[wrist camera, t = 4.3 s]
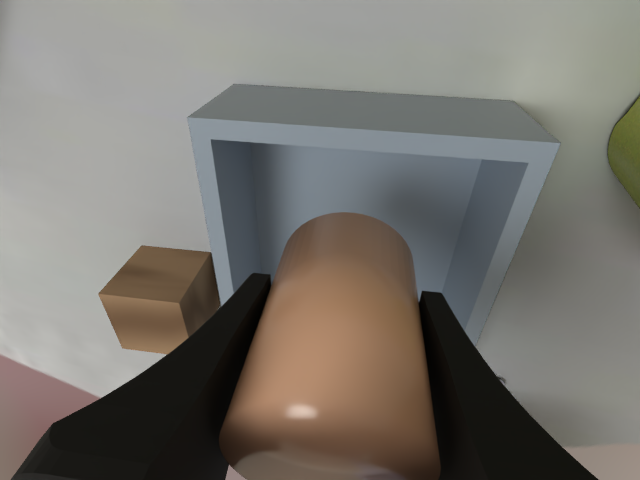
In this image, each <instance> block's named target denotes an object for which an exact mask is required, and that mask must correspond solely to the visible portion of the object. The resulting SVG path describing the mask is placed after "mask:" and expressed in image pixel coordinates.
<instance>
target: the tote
mask: <svg viewBox="0 0 640 480" xmlns="http://www.w3.org/2000/svg"><path fill="white" fill-rule="evenodd" d="M187 119H188V124H189V130H190V135H191V141H192V146H193V152H194V158H195V163H196V169H197V174H198V180H199V185H200V191H201V196H202V202H203V207H204V213H205V218H206V224H207V230H208V235H209V241H210V246H211V252H212V257H213V263H214V268H215V274H216V279H217V285H218V291H219V296H220V302H221V306H222V305H223V304H224V303H225V302H226V301H227V300H228V299H229V298H230V297H231V296H232V295H233V294H234V293H235V292H236V290H237V289H238V288H239V287H240V286H241V285H242V284H243V283H244V281H245V280H246V279H247V278H248V277H249V276H250V275H251V274H252V273H261V274H270V275H271V285H272V282H273V279H274V276H275V274H276V271H277V268H278V265H279V262H280V259H281V256H282V253H283V251H284V248H285V245H286V243H287V241H288V239H289V238H290V236H291V235H292V234H293V233H294V232H295V230H296V229H298V228H299V227H300V226H301V225H303V224H304V223H306V222H307V221H309V220H311V219H313V218H316V217H318V216H322V215H325V214H330V213H338V212H351V213H359V214H364V215H367V216H371V217H374V218H376V219H378V220H381V221H383V222H384V223H386V224H388V225H389V226H391V227H392V228H393V229H395V230H396V231H397V232H398V233H399V234H400V235H401V236H402V237H403V239H404V240H405V241H406V243H407V244H408V246H409V248H410V250H411V253H412V256H413V262H414V269H415V277H416V284H417V292H418V299H419V301H420V297H421V293H422V291H431V292H441V293H442V294H443V295H444V297H445V299H446V301H447V303H448V304H449V306H450V308H451V310H452V311H453V313H454V315H455V316H456V318H457V320H458V321H459V323H460V325H461V326H462V328H463V329H464V331H465V333H466V334H467V336H468V337H469V339H470V340H471V342H472V343H473V344H474V346H476V343H477V341H478V339H479V336H480V334H481V332H482V329H483V327H484V324H485V322H486V320H487V317H488V315H489V313H490V310H491V308H492V305H493V303H494V301H495V298H496V296H497V294H498V291H499V289H500V286H501V284H502V282H503V279H504V277H505V275H506V272H507V270H508V267H509V265H510V263H511V260H512V258H513V256H514V253H515V251H516V248H517V246H518V244H519V241H520V239H521V237H522V234H523V232H524V229H525V227H526V225H527V222H528V220H529V218H530V215H531V213H532V210H533V208H534V206H535V203H536V201H537V199H538V196H539V194H540V191H541V189H542V187H543V184H544V182H545V180H546V177H547V175H548V172H549V170H550V168H551V165H552V163H553V161H554V158H555V156H556V153H557V151H558V149H559V146H560V144H561V143H560V142H559V141H558V140H557V139H556V138H554V137H553V136H552V135H551V134H550V133H549V132H548V131H546V130H545V129H544V128H543V127H542V126H541V125H540V124H538V123H537V122H536V121H535V120H534V119H533V118H532V117H531V116H529V115H528V114H527V113H526V112H525V111H524V110H523V109H521V108H520V107H519V106H518V105H517V104H516V103H515V102H513V101H506V100H490V99H473V98H456V97H440V96H423V95H406V94H390V93H373V92H357V91H340V90H323V89H307V88H290V87H273V86H257V85H240V84H233V85H232V86H230V87H229V88H228V89H226V90H225V91H223V92H222V93H221V94H219V95H218V96H216V97H215V98H214V99H212V100H211V101H209V102H208V103H207V104H205V105H204V106H202V107H201V108H200V109H198V110H197V111H195V112H194V113H193V114H191V115H190V116H188V117H187Z"/></svg>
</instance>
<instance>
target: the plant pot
mask: <svg viewBox="0 0 640 480" xmlns="http://www.w3.org/2000/svg"><path fill="white" fill-rule="evenodd" d="M608 159H609V164H610V166H611V169H612V170H613V172H614V174H615V175H616V177H617V178H618V180H619V181H620V182H621V184H622V185H623V186H624V188H625V189H626V190H627V192H628V193H629V194H630V196H631V197H632V199H633V200H634V201H635V203H636V204H637V205H638V207H639V208H640V96H639V98H638V99H637V101H636V102H635V104H634V105H633V106H632V107H631V108H630V110H629V111H628V112H627V114H626V115H625V116H624V117H623V118H622V119H621V120H620V121H619V122H618V123H617V124H616V125H615V127H614V129H613V132H612V134H611V137H610V141H609V146H608Z"/></svg>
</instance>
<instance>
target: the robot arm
mask: <svg viewBox="0 0 640 480" xmlns="http://www.w3.org/2000/svg"><path fill="white" fill-rule="evenodd" d="M270 288H271V275H270V274H261V273H252V274H251V275H250V276H249V277H248V278H247V279H246V280H245V281H244V283H243V284H242V285H241V286H240V287H239V288H238V289H237V290H236V292H235V293H234V294H233V295H232V296H231V297H230V298H229V299H228V300H227V301H226V302H225V303H224V304H223V305H222V306H221V307H220V308H219V309H218V310H217V311H216V312H215V313H214V314H213V315H212V316H211V317H210V318H209V319H208V320H207V321H206V322H205V323H204V324H203V325H202V326H201V327H200V328H199V329H197V330H196V331H195V332H194V333H193V334H192V335H191V336H190V337H188V338H187V339H186V340H185V341H184V342H183V343H181V344H180V345H179V346H178V347H176V348H175V349H174V350H173V351H171V352H170V353H169V354H168V355H166V356H165V357H163V358H162V359H161V360H159V361H158V362H157V363H155V364H154V365H152V366H151V367H150V368H148V369H147V370H145V371H144V372H142V373H141V374H140V375H138V376H137V377H135V378H133V379H132V380H130V381H129V382H127V383H125V384H124V385H122V386H120V387H119V388H117V389H116V390H114V391H112V392H111V393H109V394H107V395H106V396H104V397H102V398H101V399H99V400H97V401H95V402H93V403H92V404H90V405H88V406H86V407H84V408H82V409H80V410H78V411H76V412H74V413H72V414H71V415H69V416H67V417H65V418H63V419H61V420H59V421H57V422H55V423H53V424H52V425H51V427H50V428H49V429H48V430H47V431H46V433H45V434H44V435H43V436H42V437H41V439H40V440H39V441H38V443H37V444H36V446H35V447H34V448H33V450H32V451H31V453H30V454H29V455H28V457H27V458H26V459H25V461H24V462H23V464H22V465H21V466H20V468H19V469H18V471H17V472H16V473H15V475H14V476H13V477H12V479H11V480H225V478H226V474H227V470H228V466H229V463H228V462H227V461H226V460H225V458H224V456H223V454H222V452H221V449H220V446H219V435H220V431H221V428H222V425H223V422H224V419H225V417H226V414H227V411H228V408H229V405H230V402H231V399H232V397H233V394H234V391H235V388H236V385H237V382H238V379H239V377H240V374H241V371H242V368H243V365H244V362H245V359H246V357H247V354H248V351H249V348H250V345H251V342H252V339H253V336H254V334H255V331H256V328H257V325H258V322H259V319H260V316H261V314H262V311H263V308H264V305H265V302H266V299H267V296H268V294H269V291H270ZM419 307H420V314H421V322H422V329H423V337H424V344H425V352H426V359H427V367H428V375H429V382H430V390H431V397H432V405H433V412H434V420H435V427H436V435H437V442H438V450H439V457H440V465H441V471H440V476H439V479H438V480H598V479H597V478H596V477H595V476H594V475H592V474H591V473H590V472H589V471H588V470H587V469H586V468H584V467H583V466H582V465H581V464H580V463H579V462H578V461H576V459H574V458H573V457H572V456H571V455H570V454H569V453H568V452H567V451H566V450H565V449H564V448H562V447H561V446H560V445H559V444H558V443H557V442H556V441H555V440H554V439H553V438H552V437H551V436H550V435H549V434H548V433H547V432H546V431H545V430H544V429H543V428H542V427H541V426H540V425H539V424H538V423H537V422H536V421H535V420H534V419H533V418H532V417H531V416H530V415H529V413H528V412H527V411H526V410H525V409H524V408H523V407H522V406H521V405H520V404H519V402H518V401H517V400H516V399H515V398H514V397H513V396H512V394H511V393H510V392H509V391H508V390H507V389H506V387H505V384H504V381H502V380H500V379H498V377H497V376H496V375H495V374H494V372H493V371H492V370H491V368H490V367H489V366H488V364H487V363H486V362H485V360H484V359H483V357H482V356H481V355H480V353H479V352H478V350H477V349H476V347H475V346H474V344H473V343H472V342H471V340H470V339H469V337H468V336H467V334H466V333H465V331H464V329H463V328H462V326H461V325H460V323H459V321H458V320H457V318H456V316H455V315H454V313H453V311H452V310H451V308H450V306H449V304H448V303H447V301H446V299H445V297H444V295H443V294H442V293H441V292H431V291H422V293H421V297H420V301H419Z"/></svg>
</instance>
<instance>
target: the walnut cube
mask: <svg viewBox="0 0 640 480" xmlns="http://www.w3.org/2000/svg"><path fill="white" fill-rule="evenodd" d="M99 297H100V299H101V301H102V303H103V306H104V308H105V310H106V312H107V315H108V317H109V319H110V321H111V324H112V326H113V328H114V330H115V333H116V335H117V337H118V339H119V342H120V344H121V346H122V348H124V349H131V350H139V351H147V352H155V353H163V354H169V353H170V352H171V351H173V350H174V349H175V348H176V347H178V346H179V345H180V344H181V343H183V342H184V341H185V340H186V339H187V338H188V337H190V336H191V335H192V334H193V333H194V332H195V331H196V330H197V329H199V328H200V327H201V326H202V325H203V324H204V323H205V322H206V321H207V320H208V319H209V318H210V317H211V316H212V315H213V314H214V313H215V312H216V311H217V310H218V308H219V306H220V301H219V295H218V290H217V285H216V279H215V274H214V269H213V263H212V258H211V252H202V251H192V250H182V249H172V248H162V247H151V246H141V247H140V248H139V249H138V250H137V251H136V252H135V253H134V255H133V256H132V257H131V258H130V259H129V260H128V261H127V262H126V264H125V265H124V266H123V267H122V268H121V269H120V270H119V271H118V272H117V274H116V275H115V276H114V277H113V278H112V279H111V280H110V281H109V282H108V284H107V285H106V286H105V287H104V288H103V289H102V290H101V291H100V292H99Z"/></svg>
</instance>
